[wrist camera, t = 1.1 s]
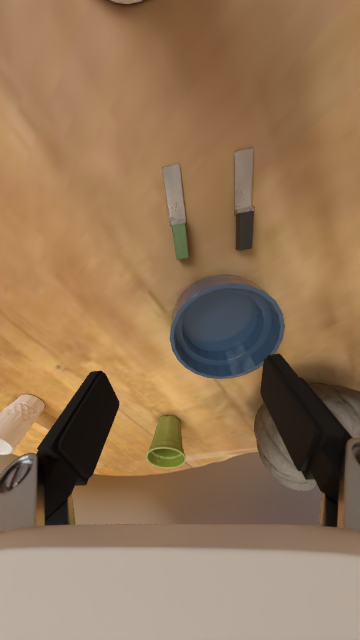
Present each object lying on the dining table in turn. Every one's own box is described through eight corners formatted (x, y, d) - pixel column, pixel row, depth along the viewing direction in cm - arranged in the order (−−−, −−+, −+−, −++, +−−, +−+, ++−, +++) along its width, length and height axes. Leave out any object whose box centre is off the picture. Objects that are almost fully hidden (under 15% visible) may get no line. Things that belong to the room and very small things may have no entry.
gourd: (238, 381, 34) (307, 503, 19) (351, 345, 34) (507, 439, 19) (243, 434, 47) (286, 530, 32) (324, 408, 47) (404, 492, 32)
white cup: (25, 388, 41) (-19, 430, 32) (53, 404, 43) (19, 448, 35) (10, 400, 43) (-35, 442, 34) (37, 415, 46) (2, 458, 37)
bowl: (164, 282, 27) (159, 293, 22) (270, 266, 26) (293, 274, 20) (180, 360, 35) (179, 382, 30) (262, 352, 33) (277, 374, 28)
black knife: (249, 247, 24) (253, 247, 23) (234, 249, 25) (237, 250, 23) (253, 148, 20) (259, 140, 18) (234, 152, 20) (238, 145, 18)
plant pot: (146, 424, 46) (139, 461, 39) (161, 406, 42) (156, 444, 35) (175, 434, 48) (173, 471, 41) (192, 418, 44) (193, 456, 37)
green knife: (190, 256, 25) (190, 257, 24) (176, 258, 26) (175, 260, 24) (179, 164, 20) (178, 158, 19) (162, 168, 21) (160, 162, 19)
